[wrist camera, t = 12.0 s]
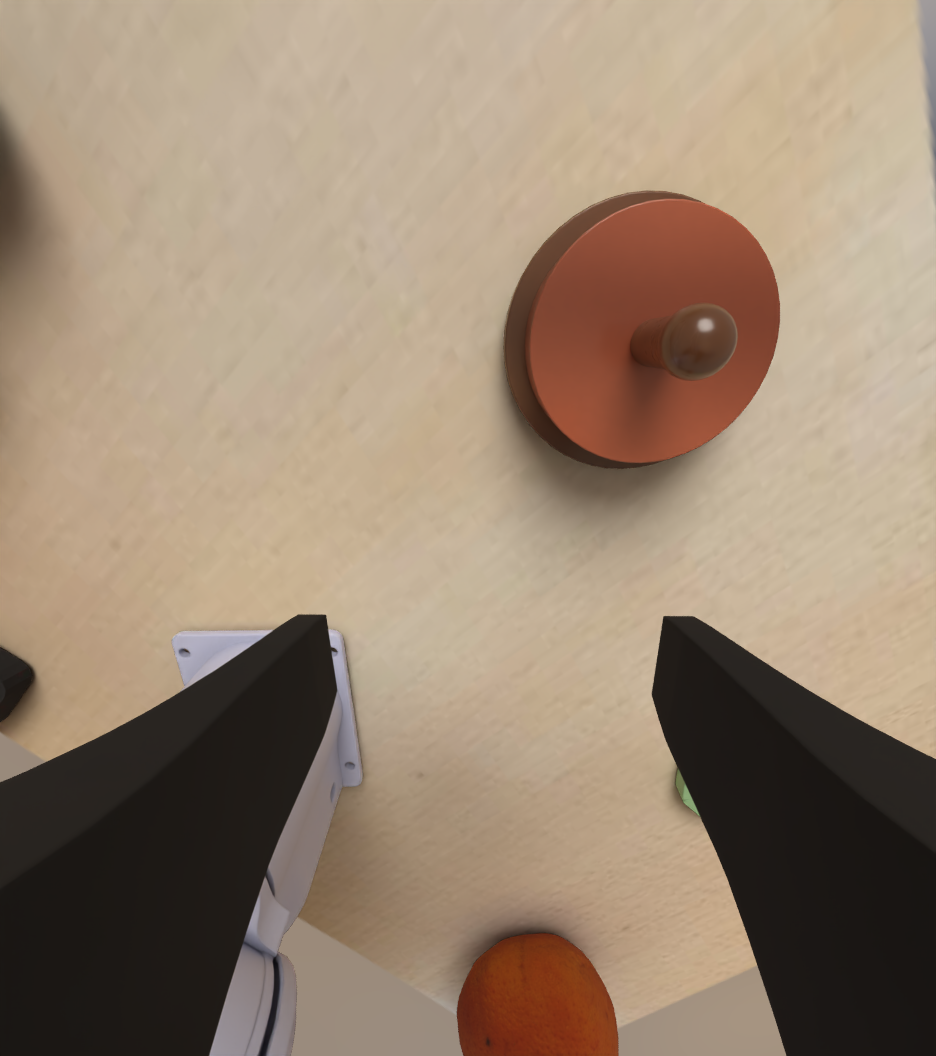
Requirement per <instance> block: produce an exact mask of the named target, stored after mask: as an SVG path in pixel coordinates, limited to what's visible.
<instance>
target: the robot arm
mask: <svg viewBox="0 0 936 1056" xmlns="http://www.w3.org/2000/svg"><path fill="white" fill-rule="evenodd" d="M172 646H173V649H174V652H175V656H176V659H177V662H178V666H179V669H180V672H181V676H182V679H183V683H184V686H185V687H184V688H183V689H182V690H181V691H180V692H179V693H178V694H176V695H175V696H173V697H171V698H170V699H168V700H166V701H165V702H163V703H161V704H160V705H158V706H156V707H154V708H153V709H151V710H149V711H147V712H145V713H144V714H142V715H140V716H138V717H136V718H134V719H133V720H131V721H129V722H127V723H125V724H123V725H121V726H119V727H118V728H116V729H114V730H112V731H110V732H108V733H106V734H104V735H102V736H100V737H98V738H96V739H94V740H92V741H90V742H88V743H86V744H84V745H82V746H79V747H77V748H75V749H73V750H71V751H69V752H67V753H64V754H62V755H60V756H58V757H56V758H54V759H52V760H50V761H47V762H45V763H43V764H41V765H39V766H37V767H35V768H33V769H30V770H28V771H26V772H24V773H21V774H19V775H17V776H14V777H12V778H10V779H8V780H5V781H3V782H0V1056H291V1052H292V1047H293V1041H294V1034H295V1025H296V1000H297V985H296V974H295V970H294V967H293V965H292V963H291V962H290V960H289V959H288V957H286V956H285V955H283V954H282V953H280V952H278V950H279V947H280V944H281V941H282V938H283V935H284V934H285V933H286V932H287V930H288V929H289V928H290V927H291V925H292V924H293V922H294V921H295V919H296V918H297V916H298V915H299V913H300V911H301V909H302V907H303V905H304V903H305V901H306V899H307V896H308V893H309V890H310V887H311V884H312V881H313V877H314V874H315V871H316V868H317V865H318V862H319V858H320V855H321V852H322V849H323V846H324V843H325V839H326V836H327V833H328V830H329V827H330V824H331V820H332V817H333V814H334V811H335V808H336V805H337V801H338V798H339V795H340V792H341V789H342V787H354V786H358V785H360V784H361V782H362V779H363V770H362V764H361V757H360V750H359V743H358V736H357V729H356V722H355V715H354V708H353V702H352V695H351V688H350V681H349V674H348V667H347V660H346V653H345V646H344V639H343V636H342V634H341V633H340V632H338V631H336V630H332V629H328V625H327V619H326V615H297V616H295V617H293V618H292V619H290V620H288V621H287V622H285V623H284V624H282V625H281V626H279V627H278V628H276V629H275V630H227V631H181V632H179V633H177V634H176V635H175V636H174V637H173V639H172ZM331 647H333V648H335V649H336V650H337V652H334V651H331ZM184 649H187V650H188V651H189V652H190V653H188V652H186V651H185V650H184ZM652 697H653V701H654V704H655V707H656V711H657V714H658V718H659V721H660V724H661V727H662V730H663V733H664V736H665V740H666V742H667V744H668V747H669V749H670V751H671V753H672V756H673V758H674V760H675V762H676V765H677V767H678V769H679V771H680V773H681V776H682V778H683V780H684V782H685V784H686V787H687V789H688V791H689V793H690V795H691V798H692V800H693V802H694V804H695V806H696V808H697V811H698V813H699V815H700V817H701V819H702V822H703V824H704V826H705V828H706V830H707V832H708V835H709V837H710V839H711V841H712V843H713V846H714V848H715V850H716V852H717V855H718V857H719V860H720V862H721V864H722V867H723V869H724V872H725V874H726V876H727V879H728V882H729V885H730V887H731V890H732V893H733V896H734V899H735V902H736V904H737V907H738V910H739V913H740V916H741V919H742V921H743V924H744V927H745V930H746V933H747V936H748V938H749V941H750V944H751V947H752V950H753V953H754V956H755V959H756V962H757V965H758V968H759V971H760V974H761V977H762V980H763V983H764V986H765V989H766V992H767V996H768V998H769V1001H770V1005H771V1008H772V1011H773V1014H774V1017H775V1020H776V1023H777V1026H778V1029H779V1033H780V1036H781V1039H782V1043H783V1046H784V1049H785V1052H786V1056H936V759H934V758H932V757H930V756H928V755H926V754H924V753H922V752H920V751H918V750H916V749H914V748H912V747H910V746H908V745H906V744H904V743H902V742H900V741H899V740H897V739H895V738H893V737H891V736H889V735H887V734H885V733H883V732H881V731H879V730H877V729H875V728H873V727H872V726H870V725H868V724H866V723H864V722H862V721H861V720H859V719H857V718H855V717H853V716H852V715H850V714H848V713H846V712H844V711H843V710H841V709H839V708H838V707H836V706H834V705H833V704H831V703H829V702H828V701H826V700H824V699H822V698H821V697H819V696H817V695H816V694H814V693H812V692H811V691H809V690H807V689H806V688H804V687H803V686H801V685H799V684H798V683H796V682H794V681H793V680H791V679H790V678H788V677H787V676H785V675H783V674H782V673H780V672H779V671H777V670H776V669H774V668H773V667H771V666H769V665H768V664H766V663H765V662H763V661H762V660H760V659H759V658H757V657H756V656H754V655H753V654H751V653H750V652H748V651H747V650H745V649H744V648H742V647H741V646H739V645H738V644H736V643H735V642H733V641H732V640H730V639H729V638H727V637H726V636H724V635H723V634H721V633H720V632H718V631H717V630H715V629H714V628H712V627H710V626H709V625H707V624H706V623H704V622H702V621H701V620H699V619H697V618H695V617H693V616H664V617H663V624H662V630H661V637H660V643H659V650H658V656H657V663H656V669H655V676H654V683H653V689H652ZM349 762H352V763H353V764H352V763H349Z"/></svg>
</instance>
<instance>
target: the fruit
mask: <svg viewBox="0 0 936 1056" xmlns="http://www.w3.org/2000/svg"><path fill="white" fill-rule="evenodd" d="M457 1019H458V1030H459V1031H458V1032H459V1039H460V1045H461V1049H462V1052H463V1055H464V1056H618V1032H617V1024H616V1017H615V1012H614V1007H613V1004H612V1001H611V999H610V996H609V994H608V992H607V990H606V987H605V985H604V983H603V981H602V980H601V978H600V976H599V975H598V973H597V971H596V970H595V968H594V967H593V965H592V963H591V962H590V961H589V959H588V958H587V957H586V956H585V954H584V953H583V952H582V951H581V950H579V949H578V948H577V947H575V946H574V945H573V944H571V943H570V942H569V941H567V940H565V939H564V938H562V937H560V936H557V935H553V934H547V933H537V934H526V935H519V936H514V937H511V938H507V939H504V940H502V941H500V942H498V943H497V944H496V945H495V946H493V947H492V948H490V949H489V950H488V951H486V952H485V953H484V954H483V955H482V956H480V957H479V958H478V959H477V960H476V962H475V963H474V964H473V966H472V968H471V970H470V972H469V974H468V976H467V978H466V980H465V983H464V985H463V988H462V990H461V993H460V996H459V1000H458V1007H457Z"/></svg>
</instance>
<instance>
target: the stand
mask: <svg viewBox="0 0 936 1056" xmlns="http://www.w3.org/2000/svg"><path fill="white" fill-rule="evenodd" d="M779 324H780V302H779V294H778V287H777V283H776V279H775V276H774V272H773V269H772V267H771V265H770V262H769V260H768V258H767V256H766V254H765V252H764V251H763V249H762V247H761V246H760V244H759V243H758V241H757V240H756V239H755V238H754V236H753V235H752V234H751V233H750V232H749V231H748V230H747V228H746V227H744V226H743V225H742V224H741V223H739V222H738V221H737V220H736V219H734V218H733V217H732V216H730V215H728V214H727V213H725V212H723V211H721V210H719V209H718V208H715V207H712V206H710V205H707V204H705V203H703V202H701V201H699V200H696V199H693V198H691V197H688V196H685V195H682V194H677V193H672V192H667V191H639V192H631V193H626V194H622V195H618V196H614V197H611V198H608V199H605V200H603V201H601V202H598V203H596V204H594V205H591V206H590V207H588V208H586V209H585V210H583V211H581V212H580V213H578V214H576V215H575V216H573V217H572V218H571V219H569V220H568V221H567V222H566V223H564V224H563V225H562V226H561V227H559V228H558V229H557V230H556V231H555V232H554V233H553V234H552V235H551V236H550V237H549V238H548V239H547V240H546V241H545V242H544V244H543V245H542V246H541V248H540V249H539V250H538V251H537V253H536V254H535V255H534V257H533V258H532V260H531V261H530V263H529V265H528V266H527V268H526V270H525V271H524V273H523V275H522V276H521V278H520V280H519V283H518V285H517V287H516V289H515V292H514V294H513V297H512V300H511V303H510V306H509V310H508V313H507V319H506V324H505V330H504V346H503V347H504V363H505V369H506V374H507V379H508V382H509V385H510V388H511V392H512V395H513V397H514V399H515V401H516V403H517V405H518V407H519V409H520V411H521V412H522V414H523V415H524V417H525V419H526V420H527V422H528V423H529V425H530V426H531V427H532V428H533V429H534V430H535V432H536V433H537V434H538V435H539V436H540V437H541V438H542V439H543V440H545V441H546V442H547V443H548V444H549V445H550V446H551V447H553V448H555V449H556V450H558V451H559V452H561V453H562V454H564V455H566V456H568V457H570V458H572V459H574V460H576V461H579V462H582V463H586V464H589V465H592V466H598V467H604V468H617V469H625V468H636V467H642V466H647V465H651V464H655V463H658V462H661V461H664V460H667V459H670V458H673V457H676V456H679V455H682V454H685V453H687V452H689V451H691V450H693V449H696V448H698V447H700V446H701V445H703V444H705V443H706V442H708V441H709V440H711V439H713V438H714V437H715V436H717V435H718V434H719V433H721V432H722V431H723V430H724V429H726V428H727V427H728V426H729V425H730V424H731V423H732V422H733V421H734V420H735V419H736V418H737V417H738V416H739V415H740V414H741V413H742V411H743V410H744V409H745V408H746V406H747V405H748V404H749V403H750V401H751V400H752V398H753V397H754V395H755V394H756V392H757V391H758V389H759V387H760V386H761V384H762V382H763V380H764V378H765V376H766V374H767V372H768V369H769V366H770V364H771V361H772V358H773V355H774V351H775V347H776V343H777V339H778V332H779Z"/></svg>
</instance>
